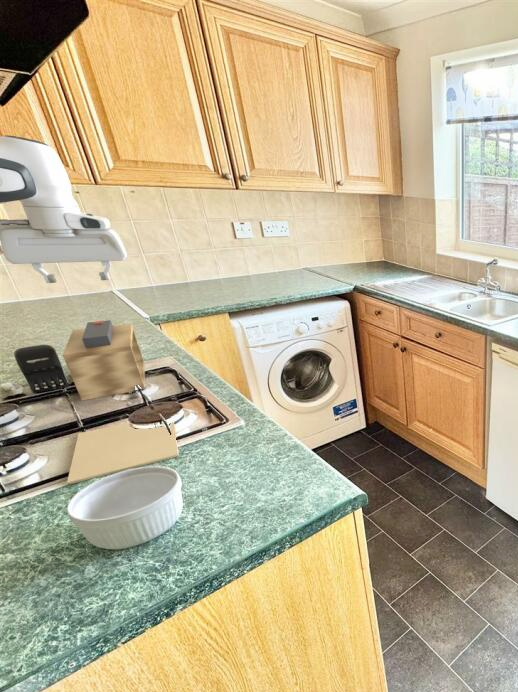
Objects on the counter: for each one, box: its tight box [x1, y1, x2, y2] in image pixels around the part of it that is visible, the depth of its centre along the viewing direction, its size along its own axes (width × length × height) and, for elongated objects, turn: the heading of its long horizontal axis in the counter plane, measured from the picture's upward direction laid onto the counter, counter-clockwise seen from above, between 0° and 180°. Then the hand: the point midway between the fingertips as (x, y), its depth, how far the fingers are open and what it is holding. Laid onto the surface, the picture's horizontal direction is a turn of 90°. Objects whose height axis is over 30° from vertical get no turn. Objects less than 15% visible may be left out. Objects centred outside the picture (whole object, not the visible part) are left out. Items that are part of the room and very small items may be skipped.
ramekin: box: [66, 465, 184, 550], centre depth 66 cm, size 13×13×7 cm
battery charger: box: [13, 343, 70, 394], centre depth 103 cm, size 7×4×11 cm, turn 137°
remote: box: [82, 319, 114, 348], centre depth 107 cm, size 5×15×3 cm, turn 38°
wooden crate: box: [62, 323, 146, 401], centre depth 110 cm, size 12×21×12 cm, turn 38°
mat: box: [66, 421, 180, 485], centre depth 86 cm, size 16×20×1 cm
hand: (79, 281), depth 101 cm, fingers open, 8 cm apart
